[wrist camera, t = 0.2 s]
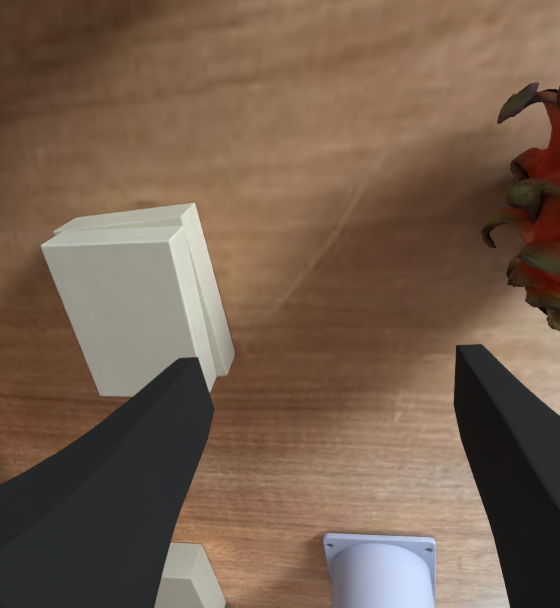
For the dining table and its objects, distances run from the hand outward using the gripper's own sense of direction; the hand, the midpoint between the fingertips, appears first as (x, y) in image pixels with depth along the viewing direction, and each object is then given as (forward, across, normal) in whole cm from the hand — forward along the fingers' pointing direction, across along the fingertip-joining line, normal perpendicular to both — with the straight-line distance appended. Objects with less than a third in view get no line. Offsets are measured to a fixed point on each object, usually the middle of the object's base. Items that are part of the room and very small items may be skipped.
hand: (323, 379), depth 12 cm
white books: (+10, +10, +2) cm, 14 cm away
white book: (+10, +16, +30) cm, 35 cm away
